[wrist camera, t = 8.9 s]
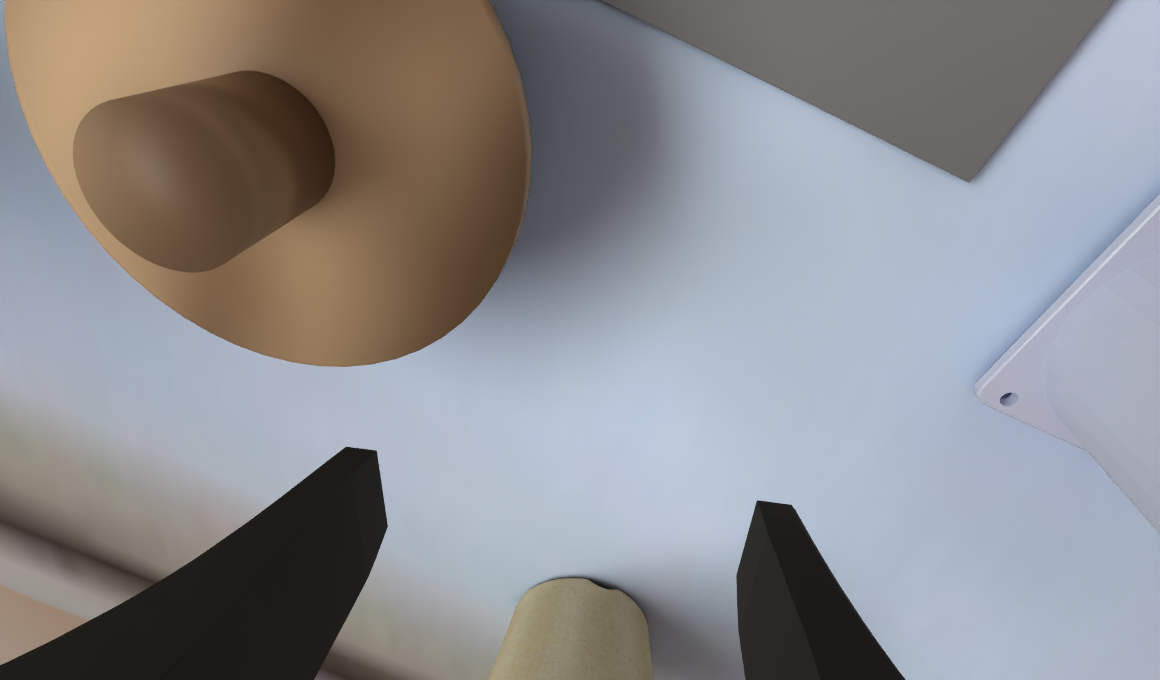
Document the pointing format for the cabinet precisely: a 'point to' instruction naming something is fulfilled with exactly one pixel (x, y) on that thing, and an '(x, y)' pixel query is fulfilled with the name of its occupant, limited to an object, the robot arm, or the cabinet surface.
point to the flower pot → (575, 635)
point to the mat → (894, 60)
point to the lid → (286, 159)
